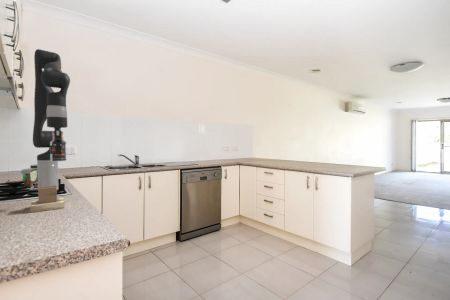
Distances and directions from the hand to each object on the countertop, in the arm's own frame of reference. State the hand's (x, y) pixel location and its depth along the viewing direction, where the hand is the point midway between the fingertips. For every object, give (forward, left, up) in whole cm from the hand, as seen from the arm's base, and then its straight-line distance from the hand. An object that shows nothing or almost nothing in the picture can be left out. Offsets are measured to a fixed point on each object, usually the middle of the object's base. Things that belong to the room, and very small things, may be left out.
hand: (58, 154), depth 108 cm
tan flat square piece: (+7, -4, -22) cm, 23 cm away
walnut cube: (+7, -4, -19) cm, 21 cm away
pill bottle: (0, 0, -3) cm, 3 cm away
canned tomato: (-79, -12, -22) cm, 83 cm away
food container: (-62, -16, -22) cm, 68 cm away
